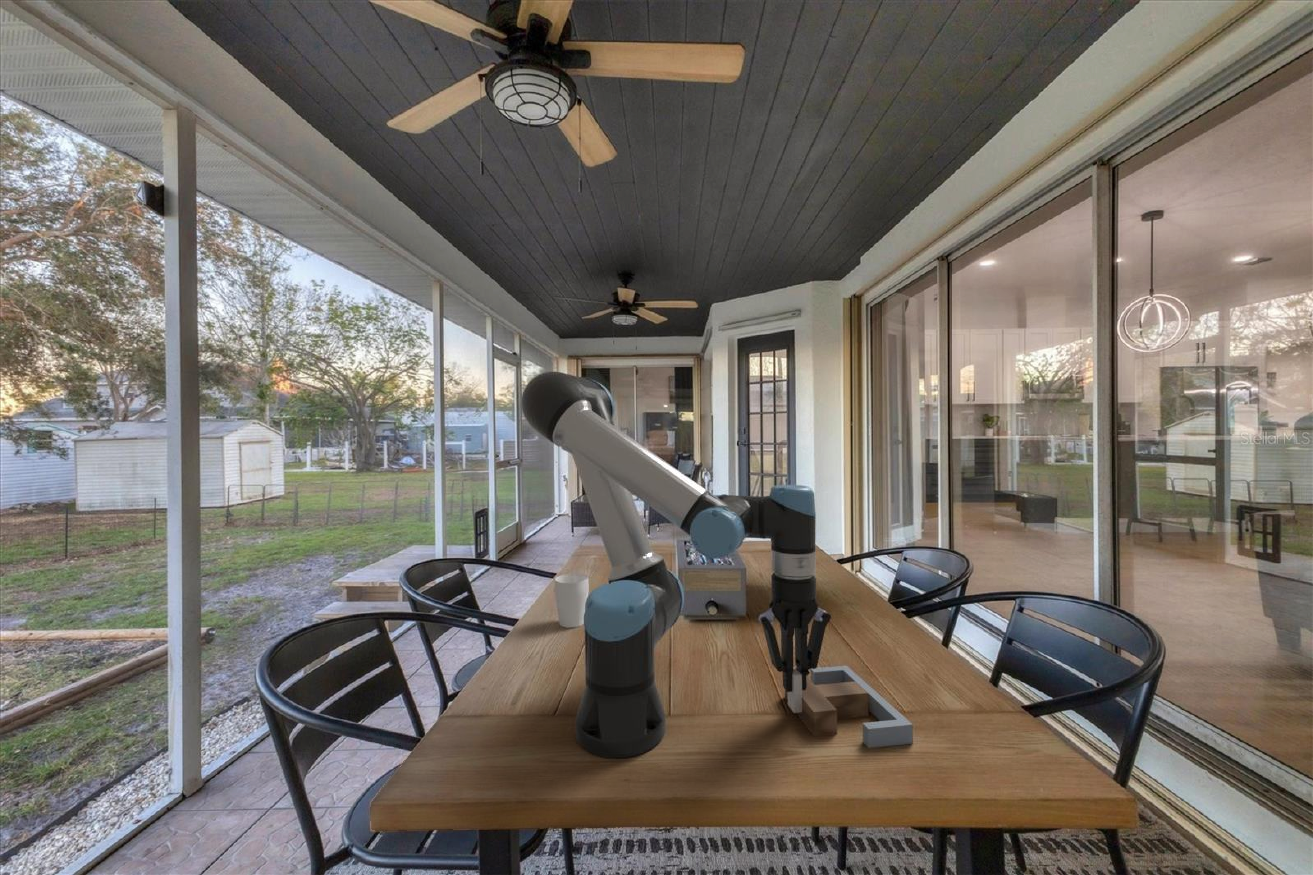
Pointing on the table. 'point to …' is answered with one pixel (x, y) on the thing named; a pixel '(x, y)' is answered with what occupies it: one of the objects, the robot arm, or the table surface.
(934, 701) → the table surface
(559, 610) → the cup
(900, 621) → the table surface
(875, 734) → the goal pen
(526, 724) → the table surface
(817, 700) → the walnut T
